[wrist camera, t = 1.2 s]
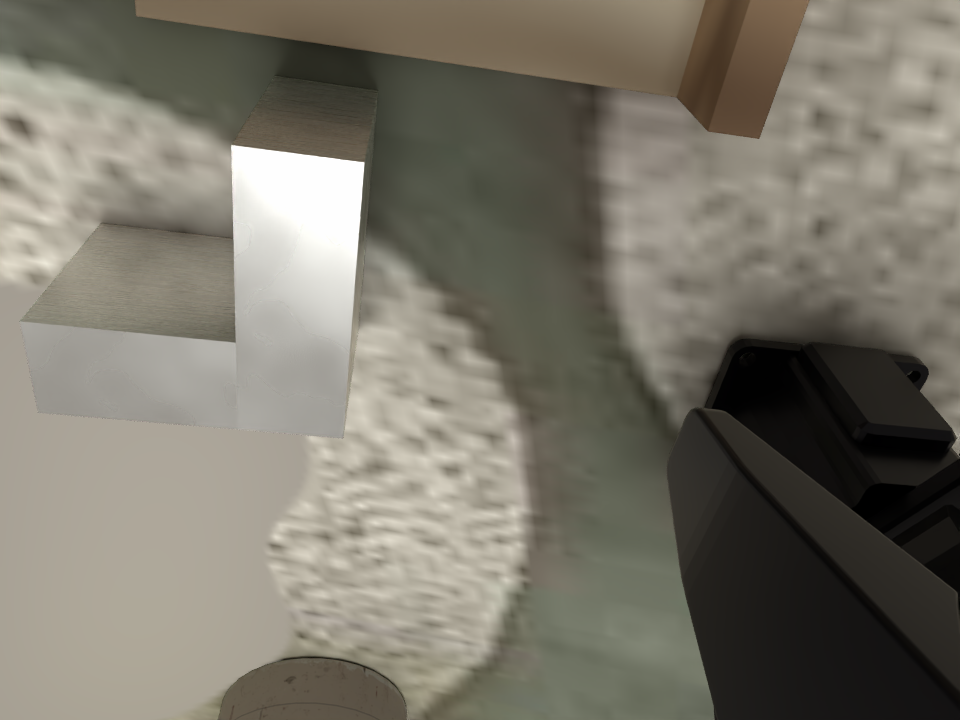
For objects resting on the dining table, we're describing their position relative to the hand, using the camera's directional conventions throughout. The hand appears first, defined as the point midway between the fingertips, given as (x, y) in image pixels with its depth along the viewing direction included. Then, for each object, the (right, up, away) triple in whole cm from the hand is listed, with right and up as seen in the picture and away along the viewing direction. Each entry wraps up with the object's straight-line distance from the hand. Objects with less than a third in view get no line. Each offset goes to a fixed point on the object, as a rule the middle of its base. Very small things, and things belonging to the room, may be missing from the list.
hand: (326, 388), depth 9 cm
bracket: (-5, +4, +11) cm, 13 cm away
